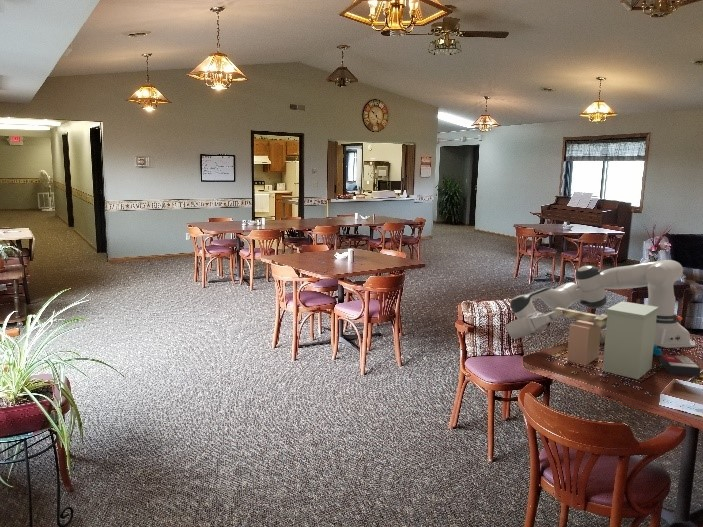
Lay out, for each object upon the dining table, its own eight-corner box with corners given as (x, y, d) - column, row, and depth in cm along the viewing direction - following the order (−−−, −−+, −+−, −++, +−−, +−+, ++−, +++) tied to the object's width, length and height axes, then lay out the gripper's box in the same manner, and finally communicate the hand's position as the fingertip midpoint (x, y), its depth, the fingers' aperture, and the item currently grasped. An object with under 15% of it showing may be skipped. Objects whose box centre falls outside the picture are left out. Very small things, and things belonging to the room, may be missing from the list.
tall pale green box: (601, 370, 220) (606, 308, 216) (616, 359, 233) (622, 301, 229) (638, 379, 211) (644, 315, 206) (652, 368, 223) (658, 307, 219)
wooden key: (551, 316, 237) (551, 309, 236) (560, 312, 244) (561, 305, 243) (600, 326, 222) (601, 319, 222) (609, 322, 229) (610, 315, 229)
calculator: (688, 356, 228) (701, 366, 214) (687, 365, 229) (700, 377, 215) (659, 353, 231) (670, 363, 217) (658, 363, 232) (669, 374, 217)
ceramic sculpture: (598, 321, 260) (632, 327, 254) (595, 338, 262) (629, 344, 256) (596, 327, 251) (632, 333, 244) (594, 345, 253) (629, 351, 246)
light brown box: (567, 360, 232) (569, 324, 229) (580, 352, 242) (582, 318, 239) (585, 365, 227) (588, 328, 224) (598, 357, 237) (601, 321, 234)
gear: (668, 355, 234) (655, 340, 231) (661, 365, 233) (648, 351, 230) (646, 350, 245) (634, 336, 242) (639, 361, 243) (627, 347, 241)
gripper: (550, 323, 253) (577, 313, 244) (530, 332, 239) (558, 322, 230) (545, 310, 255) (571, 300, 245) (524, 319, 240) (551, 309, 231)
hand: (564, 311), depth 237 cm, fingers open, 3 cm apart
